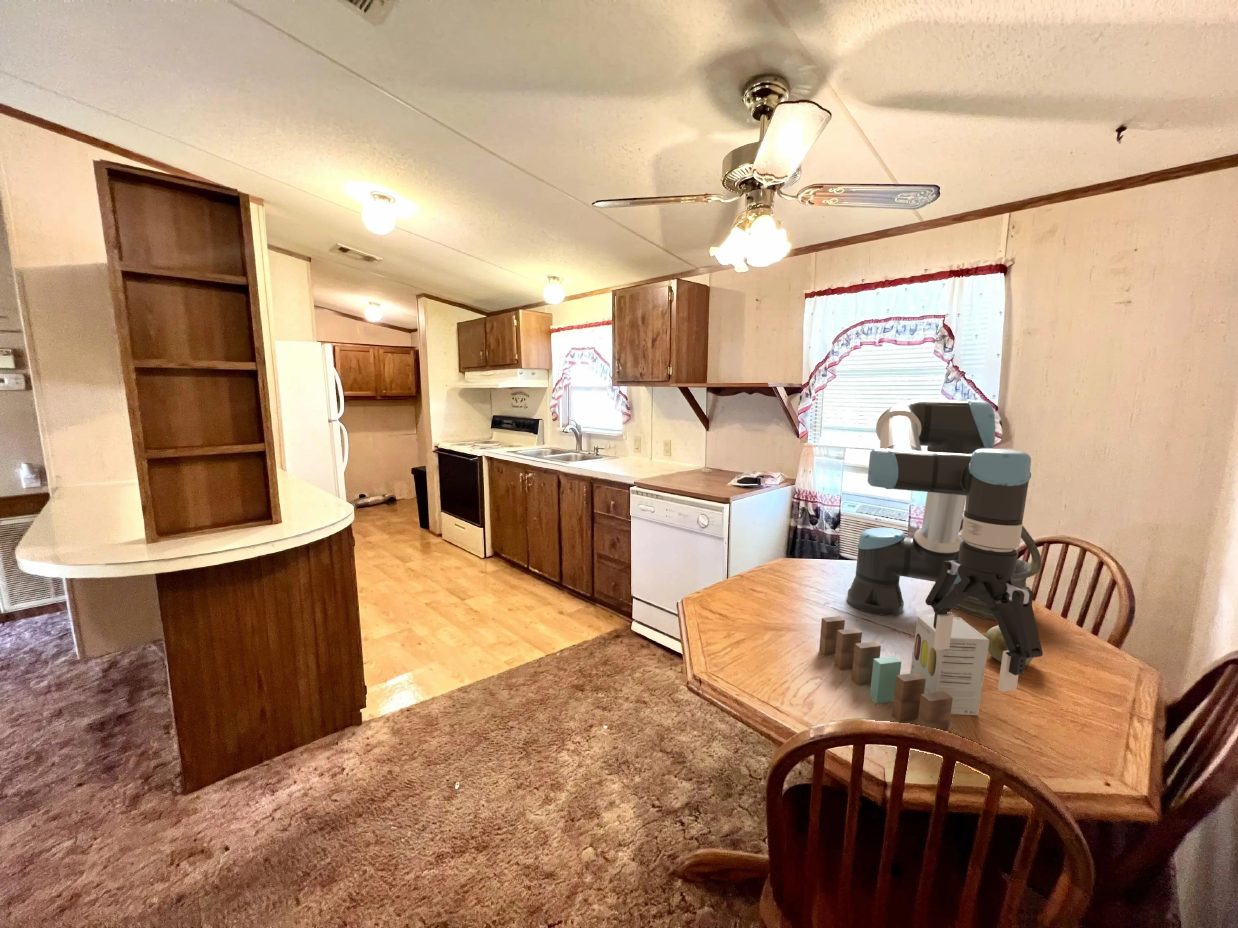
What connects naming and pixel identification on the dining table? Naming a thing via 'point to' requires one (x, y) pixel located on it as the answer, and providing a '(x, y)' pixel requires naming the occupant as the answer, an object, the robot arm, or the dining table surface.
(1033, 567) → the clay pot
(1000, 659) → the fruit
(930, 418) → the robot arm
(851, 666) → the domino
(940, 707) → the domino
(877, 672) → the teal domino
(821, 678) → the dining table surface
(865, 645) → the domino
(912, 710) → the domino
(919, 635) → the supplement box
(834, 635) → the domino
